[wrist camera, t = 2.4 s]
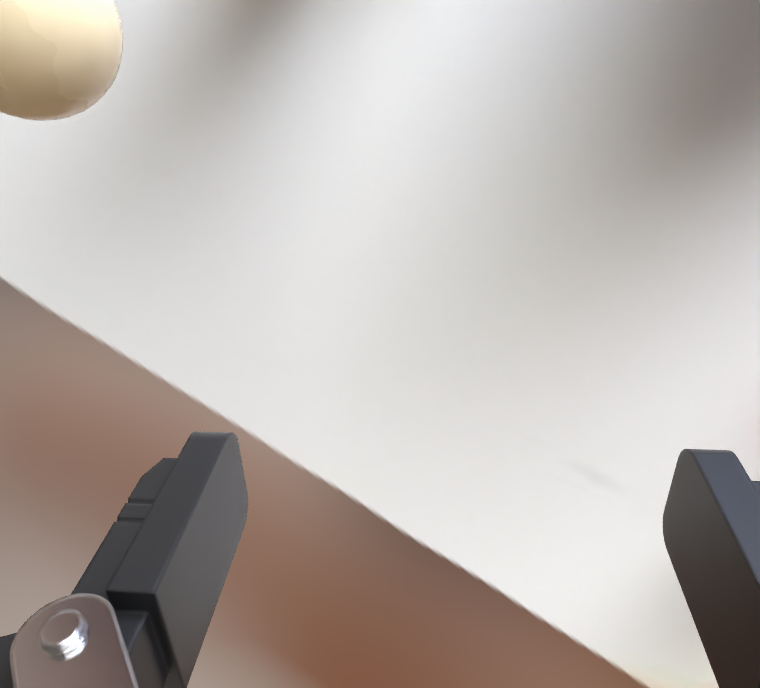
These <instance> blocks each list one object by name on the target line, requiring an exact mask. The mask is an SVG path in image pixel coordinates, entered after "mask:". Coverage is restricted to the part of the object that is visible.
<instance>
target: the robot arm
mask: <svg viewBox="0 0 760 688" xmlns="http://www.w3.org/2000/svg"><path fill="white" fill-rule="evenodd" d="M247 511H248V493H247V488H246V482H245V477H244V471H243V466H242V460H241V455H240V449H239V444H238V439H237V437H236V435H235V434H234V433H223V432H193V433H192V434H191V435H190V437H189V438H188V440H187V442H186V444H185V446H184V447H183V449H182V451H181V453H180V455H179V457H178V458H163V459H162V460H161V461H160V462H158V463H157V464H156V465H155V466H154V467H152V468H151V469H150V470H149V471H148V472H147V473H145V474H144V475H143V476H142V477H141V479H140V480H139V482H138V483H137V485H136V487H135V489H134V490H133V492H132V493H131V495H130V497H129V498H128V503H126V504H125V505H124V507H123V509H122V510H121V512H120V514H119V515H118V517H117V518H118V519H117V522H114V524H113V525H112V527H111V529H110V530H109V532H108V534H107V535H106V537H105V539H104V540H103V542H102V544H101V545H100V547H99V549H98V550H97V552H96V554H95V555H94V557H93V559H92V560H91V562H90V564H89V565H88V567H87V569H86V571H85V572H84V574H83V575H82V577H81V579H80V580H79V582H78V584H77V586H76V587H75V589H74V591H73V592H72V593H71V595H69V596H65V597H63V598H59V599H57V600H55V601H53V602H51V603H49V604H47V605H45V606H44V607H42V608H41V609H39V610H38V611H37V612H36V613H34V614H33V615H32V616H31V617H30V618H29V619H28V620H27V621H26V622H25V623H24V624H23V625H22V627H21V628H20V629H19V631H18V632H17V633H14V634H11V635H7V636H3V637H0V688H187V685H188V682H189V679H190V676H191V674H192V671H193V668H194V665H195V663H196V660H197V657H198V654H199V652H200V649H201V646H202V643H203V640H204V638H205V635H206V632H207V629H208V626H209V624H210V621H211V618H212V616H213V613H214V610H215V607H216V604H217V602H218V599H219V596H220V593H221V590H222V588H223V585H224V582H225V579H226V577H227V574H228V571H229V568H230V566H231V562H232V560H233V557H234V554H235V552H236V549H237V546H238V543H239V541H240V538H241V535H242V532H243V529H244V526H245V523H246V518H247ZM663 535H664V541H665V545H666V548H667V551H668V554H669V557H670V559H671V562H672V564H673V567H674V570H675V572H676V575H677V578H678V580H679V583H680V585H681V588H682V591H683V593H684V596H685V599H686V601H687V604H688V607H689V609H690V612H691V614H692V617H693V620H694V622H695V625H696V628H697V630H698V633H699V636H700V638H701V641H702V643H703V646H704V649H705V651H706V654H707V657H708V659H709V662H710V665H711V667H712V670H713V672H714V675H715V678H716V680H717V683H718V686H719V688H760V481H751V480H750V478H749V476H748V475H747V473H746V471H745V469H744V468H743V466H742V464H741V463H740V461H739V459H738V458H737V456H736V455H735V454H734V453H733V452H732V451H729V450H701V449H684V450H683V451H682V452H681V453H680V455H679V458H678V461H677V465H676V469H675V472H674V476H673V480H672V483H671V487H670V491H669V495H668V498H667V502H666V506H665V510H664V514H663Z"/></svg>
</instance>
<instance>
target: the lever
mask: <svg viewBox="0 0 760 688" xmlns="http://www.w3.org/2000/svg"><path fill="white" fill-rule="evenodd" d="M122 49H123V35H122V28H121V22H120V18H119V14H118V11H117V8H116V5H115V3H114V1H113V0H0V112H2V113H5V114H8V115H11V116H15V117H19V118H23V119H28V120H41V121H46V120H57V119H62V118H67V117H70V116H73V115H75V114H78V113H80V112H83V111H85V110H86V109H88V108H89V107H91V106H92V105H94V104H95V103H96V102H97V101H98V100H100V99H101V98H102V97H103V96H104V94H105V93H106V92H107V90H108V89H109V88H110V86H111V85H112V83H113V81H114V79H115V78H116V75H117V72H118V70H119V66H120V62H121V57H122Z"/></svg>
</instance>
